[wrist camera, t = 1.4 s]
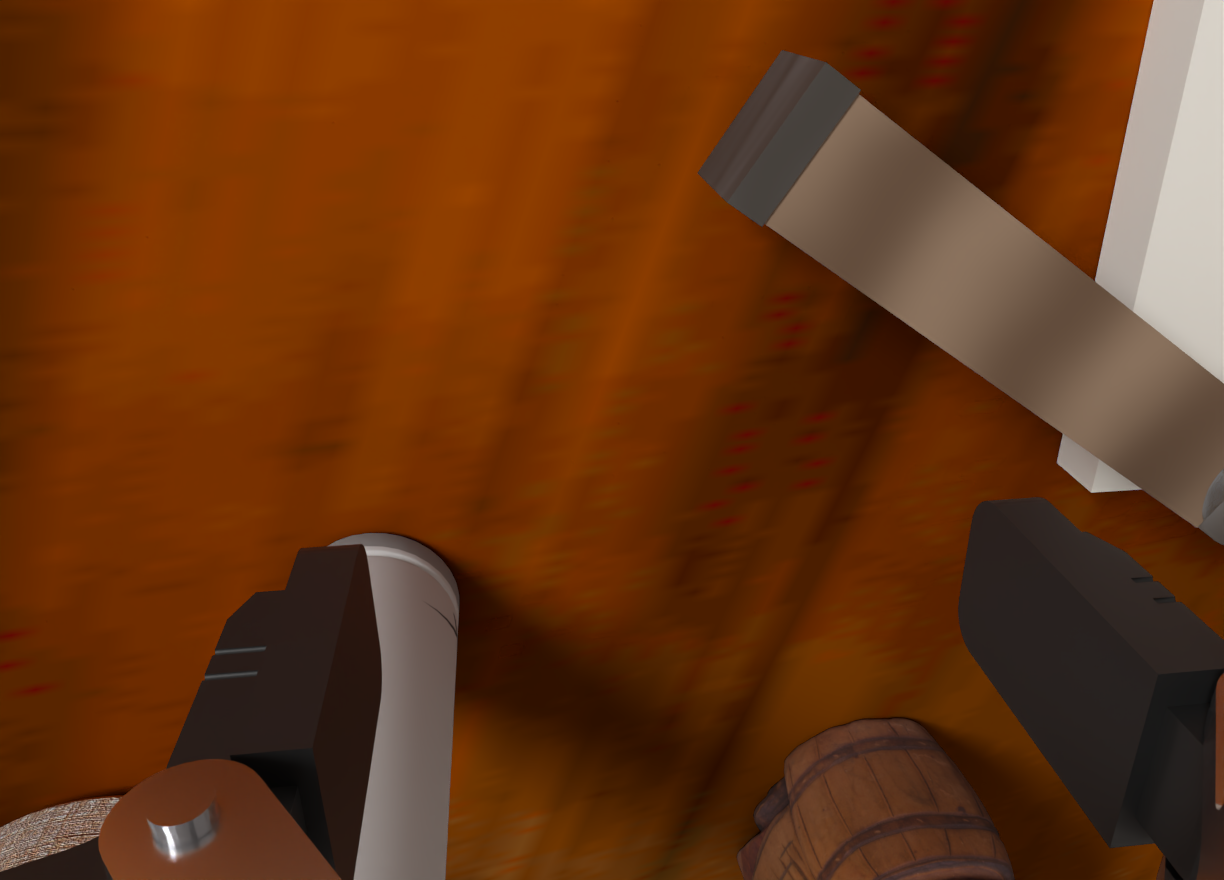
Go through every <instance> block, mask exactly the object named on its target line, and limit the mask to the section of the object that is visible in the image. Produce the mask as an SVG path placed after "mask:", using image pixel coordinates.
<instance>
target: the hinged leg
mask: <svg viewBox="0 0 1224 880" xmlns="http://www.w3.org/2000/svg"><path fill="white" fill-rule="evenodd" d="M860 91H861V90H860V89H859V88H858V87H856V86H855V85H854V84H853V83H851V82H850V81H849V80H848V79H846V78H845V77H844V76H843V75H841V74H840V73H839V72H837V71H836V70H835V69H834V68H832V67H831V66H830V65H829V64H827V63H826V62H823V61H819V60H815V59H812V58H808V57H805V56H801V55H797V54H794V53H790V52H787V51H783V50H782V51H781V52H780V54H779V55H778V57H777V58H776V60H775V61H774V63H773V64H772V65H771V67H770V68H769V70H768V71H767V73H766V74H765V76H764V77H763V79H762V80H761V81H760V83H759V84H758V86H757V87H756V89H755V90H754V92H753V93H752V95H751V96H750V97H749V99H748V100H747V102H746V103H745V105H744V106H743V108H742V109H741V111H740V112H739V113H738V115H737V116H736V118H735V119H734V121H733V122H732V124H731V125H730V127H729V128H728V129H727V131H726V132H725V134H724V135H723V137H722V138H721V140H720V141H719V142H718V144H717V145H716V147H715V148H714V150H713V151H712V153H711V154H710V156H709V157H708V158H707V160H706V161H705V163H704V164H703V166H702V167H701V169H700V170H699V172H698V174H699V175H700V176H701V177H702V178H703V179H704V180H705V181H706V182H707V183H708V184H709V185H710V186H711V187H712V188H713V189H714V190H715V191H716V192H717V193H718V194H719V195H720V196H721V197H722V198H723V199H724V200H725V201H726V202H727V203H729V204H730V205H732V206H733V207H734V208H736V209H737V210H739V211H740V212H742V213H743V214H744V215H746V216H747V217H749V218H750V219H752V220H753V221H754V222H756V223H757V224H759V225H760V226H761V227H762V226H763V225H764V224H766V225H767V226H768V227H770V228H771V229H773V230H774V231H776V232H777V233H778V234H780V235H781V236H783V237H784V238H786V239H787V240H788V241H790V242H791V243H793V244H794V245H795V246H797V247H798V248H800V249H801V250H803V251H804V252H805V253H807V254H808V255H810V256H811V257H813V258H814V259H815V260H817V261H818V262H820V263H821V264H822V265H824V266H825V267H827V268H828V269H830V270H831V271H832V272H834V273H835V274H837V275H838V276H840V277H841V278H842V279H844V280H845V281H847V282H848V283H849V284H851V285H852V286H854V287H855V288H857V289H858V290H859V291H861V292H862V293H864V294H865V295H867V296H868V297H869V298H871V299H872V300H874V301H875V302H876V303H878V304H879V305H881V306H882V307H884V308H885V309H886V310H888V311H889V312H891V313H892V314H894V315H895V316H896V317H898V318H899V319H901V320H902V321H903V322H905V323H906V324H908V325H909V326H911V327H912V328H913V329H915V330H916V331H918V332H919V333H921V334H922V335H923V336H925V337H926V338H928V339H929V340H930V341H932V342H933V343H935V344H936V345H938V346H939V347H940V348H942V349H943V350H945V351H946V352H948V353H949V354H950V355H952V356H953V357H955V358H956V359H957V360H959V361H960V362H962V363H963V364H965V365H966V366H967V367H969V368H970V369H972V370H973V371H975V372H976V373H977V374H979V375H980V376H982V377H983V378H985V379H986V380H987V381H989V382H990V383H992V384H993V385H994V386H996V387H997V388H999V389H1000V390H1002V391H1003V392H1004V393H1006V394H1007V395H1009V396H1010V397H1012V398H1013V399H1014V400H1016V401H1017V402H1019V403H1020V404H1021V405H1023V406H1024V407H1026V408H1027V409H1029V410H1030V411H1031V412H1033V413H1034V414H1036V415H1037V416H1039V417H1040V418H1041V419H1043V420H1044V421H1046V422H1047V423H1048V424H1050V425H1051V426H1053V427H1054V428H1056V429H1057V430H1058V431H1060V432H1061V433H1063V434H1064V435H1066V436H1067V437H1068V438H1070V439H1071V440H1073V441H1074V442H1075V443H1077V444H1078V445H1080V446H1081V447H1083V448H1084V449H1085V450H1087V451H1088V452H1090V453H1091V454H1093V455H1094V456H1095V457H1097V458H1098V459H1100V460H1101V461H1102V462H1104V463H1105V464H1107V465H1108V466H1110V467H1111V468H1112V469H1114V470H1115V471H1117V472H1118V473H1120V474H1121V475H1122V476H1124V477H1125V478H1127V479H1128V480H1129V481H1131V482H1132V483H1134V484H1135V485H1137V486H1138V487H1139V488H1141V489H1142V490H1144V491H1145V492H1147V493H1148V494H1149V495H1151V496H1152V497H1154V498H1155V499H1156V500H1158V501H1159V502H1161V503H1162V504H1164V505H1165V506H1166V507H1168V508H1169V509H1171V510H1172V511H1174V512H1175V513H1176V514H1178V515H1179V516H1181V517H1182V518H1183V519H1185V520H1186V521H1188V522H1189V523H1191V524H1192V525H1193V526H1195V527H1196V528H1197V527H1198V528H1200V529H1201V530H1202V531H1203V532H1205V533H1206V534H1207V535H1209V536H1210V537H1211V538H1212V539H1214V540H1215V541H1216V542H1218V543H1220V544H1222V545H1224V383H1222V382H1221V381H1220V380H1219V379H1217V378H1216V377H1215V376H1214V375H1212V374H1211V373H1210V372H1209V371H1207V370H1206V369H1205V368H1204V367H1202V366H1201V365H1200V364H1198V363H1197V362H1196V361H1195V360H1193V359H1192V358H1191V357H1190V356H1188V355H1187V354H1186V353H1185V352H1183V351H1182V350H1181V349H1180V348H1178V347H1177V346H1176V345H1175V344H1173V343H1172V342H1171V341H1169V340H1168V339H1167V338H1166V337H1164V336H1163V335H1162V334H1161V333H1159V332H1158V331H1157V330H1156V329H1154V328H1153V327H1152V326H1151V325H1149V324H1148V323H1147V322H1145V321H1144V320H1143V319H1142V318H1140V317H1139V316H1138V315H1137V314H1135V313H1134V312H1133V311H1132V310H1130V309H1129V308H1128V307H1127V306H1125V305H1124V304H1123V303H1121V302H1120V301H1119V300H1118V299H1116V298H1115V297H1114V296H1113V295H1111V294H1110V293H1109V292H1108V291H1106V290H1105V289H1104V288H1103V287H1101V286H1100V285H1099V284H1098V283H1096V282H1095V281H1094V280H1092V279H1091V278H1090V277H1089V276H1087V275H1086V274H1085V273H1084V272H1082V271H1081V270H1080V269H1079V268H1077V267H1076V266H1075V265H1074V264H1072V263H1071V262H1070V261H1068V260H1067V259H1066V258H1065V257H1063V256H1062V255H1061V254H1060V253H1058V252H1057V251H1056V250H1055V249H1053V248H1052V247H1051V246H1050V245H1048V244H1047V243H1046V242H1044V241H1043V240H1042V239H1041V238H1039V237H1038V236H1037V235H1036V234H1034V233H1033V232H1032V231H1031V230H1029V229H1028V228H1027V227H1026V226H1024V225H1023V224H1022V223H1020V222H1019V221H1018V220H1017V219H1015V218H1014V217H1013V216H1012V215H1010V214H1009V213H1008V212H1007V211H1005V210H1004V209H1003V208H1002V207H1000V206H999V205H998V204H997V203H995V202H994V201H993V200H991V199H990V198H989V197H988V196H986V195H985V194H984V193H983V192H981V191H980V190H979V189H978V188H976V187H975V186H974V185H973V184H971V183H970V182H969V181H967V180H966V179H965V178H964V177H962V176H961V175H960V174H959V173H957V172H956V171H955V170H954V169H952V168H951V167H950V166H949V165H947V164H946V163H945V162H943V161H942V160H941V159H940V158H938V157H937V156H936V155H935V154H933V153H932V152H931V151H930V150H928V149H927V148H926V147H925V146H923V145H922V144H921V143H919V142H918V141H917V140H916V139H914V138H913V137H912V136H911V135H909V134H908V133H907V132H906V131H904V130H903V129H902V128H901V127H899V126H898V125H897V124H896V123H894V122H893V121H892V120H890V119H889V118H888V117H887V116H885V115H884V114H883V113H882V112H880V111H879V110H878V109H877V108H875V107H874V106H873V105H872V104H870V103H869V102H868V101H866V100H865V99H864V98H863V97H861V96H860V95H859V92H860Z"/></svg>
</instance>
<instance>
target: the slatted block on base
mask: <svg viewBox="0 0 1224 880" xmlns="http://www.w3.org/2000/svg"><path fill="white" fill-rule="evenodd" d="M1095 282H1096V283H1098V284H1099V285H1100V286H1101V287H1103V288H1104V289H1105V290H1106V291H1108V292H1109V293H1110V294H1111V295H1113V296H1114V297H1115V298H1116V299H1118V300H1119V301H1120V302H1121V303H1123V304H1124V305H1125V306H1127V307H1128V308H1129V309H1130V310H1132V311H1133V312H1134V313H1135V314H1137V315H1138V316H1139V317H1140V318H1142V319H1143V320H1144V321H1145V322H1147V323H1148V324H1149V325H1151V326H1152V327H1153V328H1154V329H1156V330H1157V331H1158V332H1159V333H1161V334H1162V335H1163V336H1164V337H1166V338H1167V339H1168V340H1169V341H1171V342H1172V343H1173V344H1175V345H1176V346H1177V347H1178V348H1180V349H1181V350H1182V351H1183V352H1185V353H1186V354H1187V355H1188V356H1190V357H1191V358H1192V359H1193V360H1195V361H1196V362H1197V363H1198V364H1200V365H1201V366H1202V367H1204V368H1205V369H1206V370H1207V371H1209V372H1210V373H1211V374H1212V375H1214V376H1215V377H1216V378H1217V379H1219V380H1220V381H1221V382H1222V383H1224V0H1154V2H1153V6H1152V11H1151V16H1150V21H1149V25H1148V30H1147V35H1146V40H1145V44H1144V49H1143V54H1142V59H1141V64H1140V68H1139V73H1138V78H1137V83H1136V87H1135V92H1134V97H1133V102H1132V106H1131V111H1130V116H1129V121H1128V126H1127V130H1126V135H1125V140H1124V145H1123V149H1122V154H1121V159H1120V164H1119V168H1118V173H1117V178H1116V183H1115V187H1114V192H1113V197H1112V202H1111V207H1110V211H1109V216H1108V221H1107V226H1106V230H1105V235H1104V240H1103V245H1102V249H1101V254H1100V259H1099V264H1098V269H1097V273H1096V278H1095ZM1057 463H1058V464H1059V465H1060V466H1061V467H1062V468H1063V469H1065V470H1066V471H1067V472H1068V473H1069V474H1070V475H1071V476H1073V477H1074V478H1075V479H1076V480H1077V481H1078V482H1079V483H1081V484H1082V485H1083V486H1084V487H1085V488H1086V489H1087V490H1089V491H1090V492H1091V493H1095V492H1110V491H1125V490H1140V489H1141V488H1139V487H1138V486H1137V485H1135V484H1134V483H1132V482H1131V481H1129V480H1128V479H1127V478H1125V477H1124V476H1122V475H1121V474H1120V473H1118V472H1117V471H1115V470H1114V469H1112V468H1111V467H1110V466H1108V465H1107V464H1105V463H1104V462H1102V461H1101V460H1100V459H1098V458H1097V457H1095V456H1094V455H1093V454H1091V453H1090V452H1088V451H1087V450H1085V449H1084V448H1083V447H1081V446H1080V445H1078V444H1077V443H1075V442H1074V441H1073V440H1071V439H1070V438H1068V437H1067V436H1066V435H1064V434H1063V435H1062V440H1061V445H1060V450H1059V455H1058V459H1057Z"/></svg>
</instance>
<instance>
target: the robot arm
mask: <svg viewBox="0 0 1224 880" xmlns="http://www.w3.org/2000/svg"><path fill="white" fill-rule="evenodd" d="M1152 577H1153V576H1152V575H1150V574H1149V573H1148V572H1147V571H1146V570H1145V569H1144V568H1143V567H1141V566H1140V565H1139V564H1138V563H1137V562H1136V561H1135V560H1134V559H1133V558H1131V557H1130V556H1129V555H1128V554H1127V553H1126V552H1124V551H1123V550H1121V549H1119V548H1117V547H1115V546H1113V545H1111V544H1109V543H1107V542H1105V541H1103V540H1101V539H1099V538H1097V537H1095V536H1093V535H1091V534H1090V533H1088V532H1081V531H1080V530H1079V529H1077V528H1076V527H1075V526H1074V525H1073V524H1072V523H1071V522H1070V521H1069V520H1068V519H1067V518H1066V517H1065V516H1063V515H1062V514H1061V513H1060V512H1059V511H1058V510H1057V509H1056V508H1055V507H1054V506H1053V505H1052V504H1051V503H1050V502H1048V501H1047V500H1046V499H1043V498H1039V497H1036V498H1022V499H1008V500H994V501H984V502H982V503H980V504H979V505H978V506H977V508H976V510H975V512H974V515H973V519H972V524H971V530H970V536H969V542H968V548H967V554H966V561H965V567H964V573H963V579H962V585H961V591H960V597H959V606H958V613H959V623H960V629H961V633H962V636H963V639H964V642H965V644H966V646H967V648H968V650H969V652H970V653H971V655H972V656H973V657H974V659H975V660H976V662H977V663H978V664H979V666H980V667H981V669H982V670H983V671H984V673H985V674H986V675H987V677H988V678H989V680H990V681H991V682H992V684H993V685H994V687H995V688H996V689H997V691H998V692H999V694H1000V695H1001V696H1002V698H1003V699H1004V701H1005V702H1006V703H1007V705H1008V706H1009V708H1010V709H1011V710H1012V712H1013V713H1014V715H1015V716H1016V717H1017V719H1018V720H1019V722H1020V723H1021V724H1022V726H1023V727H1024V729H1025V730H1026V731H1027V733H1028V734H1029V736H1030V737H1031V738H1032V740H1033V741H1034V743H1035V744H1036V745H1037V747H1038V748H1039V750H1040V751H1041V752H1042V754H1043V755H1044V757H1045V758H1046V759H1047V761H1048V762H1049V764H1050V765H1051V766H1052V768H1053V769H1054V771H1055V772H1056V773H1057V775H1058V776H1059V778H1060V779H1061V780H1062V782H1063V783H1064V785H1065V786H1066V787H1067V789H1068V790H1069V792H1070V793H1071V794H1072V796H1073V797H1074V799H1075V800H1076V801H1077V803H1078V804H1079V806H1080V807H1081V808H1082V810H1083V811H1084V813H1085V814H1086V815H1087V817H1088V818H1089V820H1090V821H1091V822H1092V824H1093V825H1094V827H1095V828H1096V829H1097V831H1098V832H1099V834H1100V835H1101V836H1102V838H1103V839H1104V840H1105V842H1106V843H1107V845H1108V846H1109V847H1110V848H1115V847H1124V846H1133V845H1143V844H1152V843H1155V844H1156V845H1157V846H1158V848H1159V849H1160V850H1161V852H1162V853H1163V857H1162V860H1161V864H1160V867H1159V870H1158V873H1157V878H1156V880H1224V640H1223V639H1222V638H1221V637H1219V636H1218V635H1217V634H1216V633H1215V632H1214V631H1213V630H1212V629H1211V628H1209V627H1208V626H1207V625H1206V624H1205V623H1204V622H1203V621H1202V620H1200V619H1199V618H1198V617H1197V616H1196V615H1195V614H1194V613H1193V612H1192V611H1190V610H1189V609H1188V608H1187V607H1186V606H1185V605H1184V604H1183V603H1182V602H1176V601H1175V596H1174V595H1173V594H1172V593H1170V592H1169V591H1168V590H1167V589H1166V588H1165V587H1164V586H1163V585H1162V584H1160V583H1159V582H1158V581H1156V582H1153V579H1152ZM381 693H382V661H381V649H380V642H379V635H378V628H377V621H376V614H375V607H374V600H373V593H372V586H371V579H370V572H369V565H368V559H367V554H366V550H365V548H364V546H363V544H353V545H339V546H325V547H311V548H301V549H300V550H299V551H298V554H297V557H296V560H295V563H294V565H293V568H292V571H291V574H290V577H289V580H288V583H287V586H286V589H285V590H281V591H268V592H256V593H255V594H254V595H253V596H252V597H251V598H250V599H249V600H247V601H246V602H245V603H244V604H243V605H242V606H241V607H240V608H239V609H238V610H237V611H236V612H235V613H234V614H233V615H232V616H231V617H230V618H228V619H227V622H226V624H225V627H224V629H223V631H222V634H221V636H220V639H219V641H218V644H217V646H216V648H215V655H213V656H212V658H211V661H210V663H209V665H208V668H207V670H206V673H205V681H202V682H201V685H200V687H199V690H198V692H197V695H196V697H195V700H194V702H193V704H192V707H191V709H190V712H189V714H188V717H187V719H186V721H185V724H184V726H183V729H182V731H181V734H180V736H179V738H178V741H177V743H176V746H175V748H174V751H173V753H172V755H171V758H170V760H169V763H168V765H167V768H166V770H163V771H161V772H159V773H156V774H155V775H153V776H151V777H149V778H147V779H146V780H144V781H142V782H141V783H139V784H138V785H137V786H135V787H134V788H132V789H131V790H130V791H129V792H128V793H126V794H125V795H124V796H123V797H122V798H121V799H120V800H119V801H118V802H117V803H116V804H115V806H114V807H113V808H112V809H111V811H110V812H109V814H108V815H107V817H106V818H105V820H104V823H103V825H102V827H101V830H100V834H99V836H98V837H96V838H94V839H92V840H90V841H87V842H85V843H83V844H80V845H78V846H75V847H73V848H70V849H67V850H64V851H61V852H58V853H55V854H52V855H49V856H46V857H43V858H40V859H37V860H34V861H31V862H28V863H25V864H22V865H19V866H16V867H13V868H10V869H7V870H4V871H1V872H0V880H354V874H355V867H356V861H357V854H358V848H359V841H360V835H361V828H362V821H363V815H364V808H365V802H366V795H367V788H368V782H369V775H370V769H371V762H372V755H373V749H374V742H375V736H376V729H377V722H378V716H379V709H380V703H381Z"/></svg>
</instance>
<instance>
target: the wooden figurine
mask: <svg viewBox="0 0 1224 880" xmlns="http://www.w3.org/2000/svg"><path fill="white" fill-rule="evenodd" d="M784 774H785V776H784V778H783V779H781V780H780V781H779V782H778V783H777V784H775V785H774V786H773V787H772V788H771V789H770V790H769V792H768V794H767V796H766V798H765V799H764V800H762V801H761V802H760V803H759V805H758V806H757V807H756V808H755V811H754V815H753V816H754V820H755V823H756V825H757V827H758V828H759V829H760V833H759V834H758V835H756V836H755V837H753V838H752V839H751V840H750V841H749V842H748V843H747V844H746V845H745V846H744V847H743V848H741V850H740V851H739V852H738V854H737V856H736V857H737V860H738V863H739V867H740V869H741V872H742V874H743V878H744V880H1015V878H1014V874H1013V870H1012V865H1011V862H1010V859H1009V857H1008V854H1007V851H1006V849H1005V846H1004V844H1003V842H1002V841H1001V840H1000V838H999V833H998V831H997V829H996V828H995V827H994V824H993V822H992V820H991V818H990V816H989V814H988V812H987V811H986V809H985V807H984V805H983V804H982V802H981V800H980V799H979V797H978V796H977V794H976V792H975V791H974V789H973V788H972V787H971V785H970V784H969V782H968V781H967V780H966V778H965V777H964V776H963V774H962V773H961V771H960V770H959V768H958V767H957V766H956V764H955V763H954V762H953V760H952V759H951V758H950V757H948V756H947V754H946V753H945V751H944V750H943V749H942V748H941V747H940V746H939V744H938V743H937V742H936V740H935V739H934V738H933V737H932V736H931V735H930V734H929V733H928V732H927V730H926V729H925V728H924V727H922V726H921V725H920V724H918V723H916V722H914V721H912V720H909V719H906V718H891V719H862V720H857V721H853V722H851V723H849V724H846V725H841V726H836V727H832V728H829V729H827V730H825V731H823V732H822V733H820V734H818V735H816V736H814V737H813V738H811V739H809V740H808V741H806V742H805V743H803V744H801V745H799V746H798V747H797V748H795V749H794V750H793V751H792V752H791V753H790V755H789V756H788V757H787V758H786V759H785V767H784Z"/></svg>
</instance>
